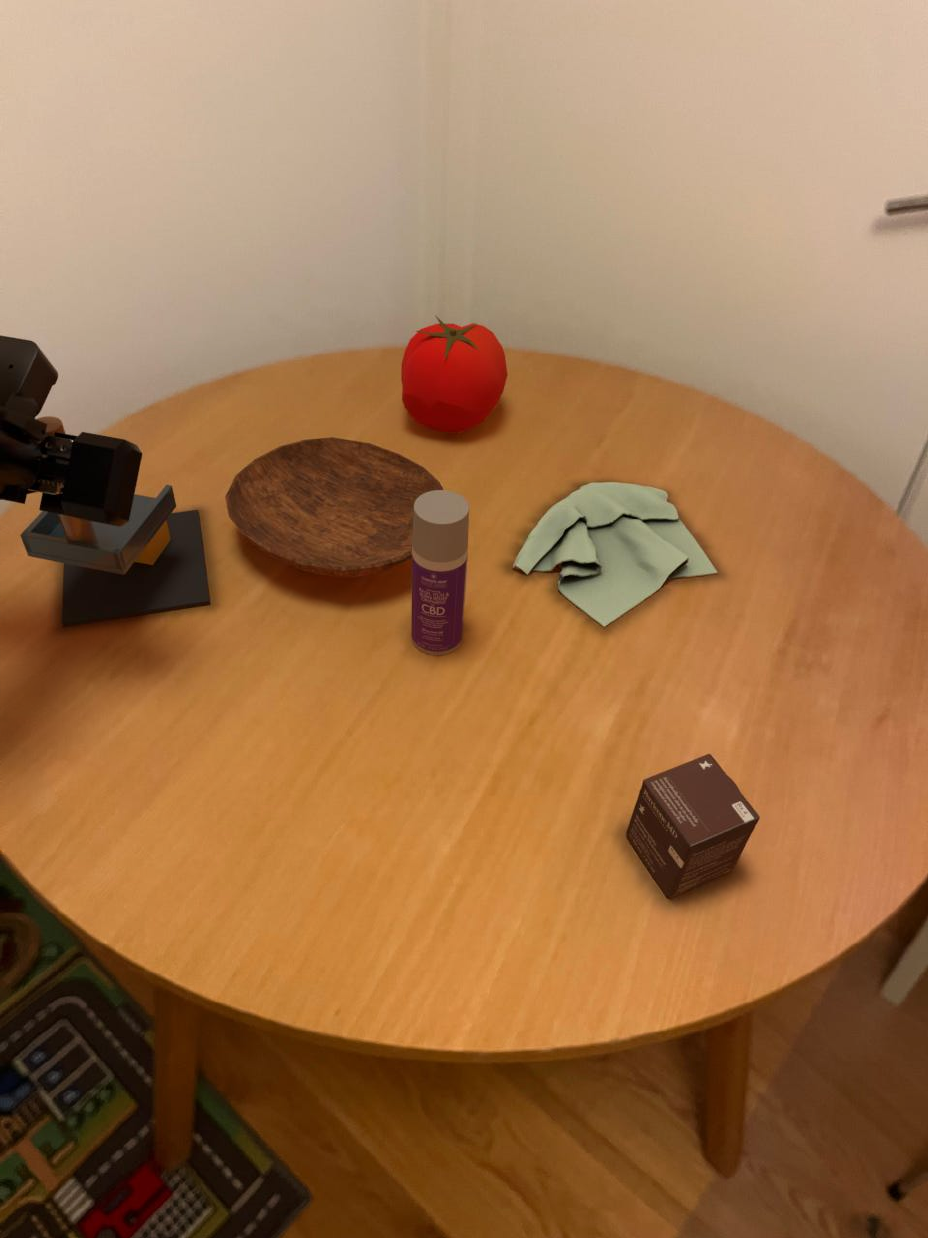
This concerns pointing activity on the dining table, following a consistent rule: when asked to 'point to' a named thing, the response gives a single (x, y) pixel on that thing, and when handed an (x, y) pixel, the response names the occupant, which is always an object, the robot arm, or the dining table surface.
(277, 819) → the dining table surface
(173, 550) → the mat
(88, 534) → the tray with wooden peg
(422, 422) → the tomato
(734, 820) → the box
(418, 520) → the container
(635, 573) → the cloth
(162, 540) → the block
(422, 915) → the dining table surface
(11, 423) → the robot arm
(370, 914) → the dining table surface
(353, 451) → the bowl
